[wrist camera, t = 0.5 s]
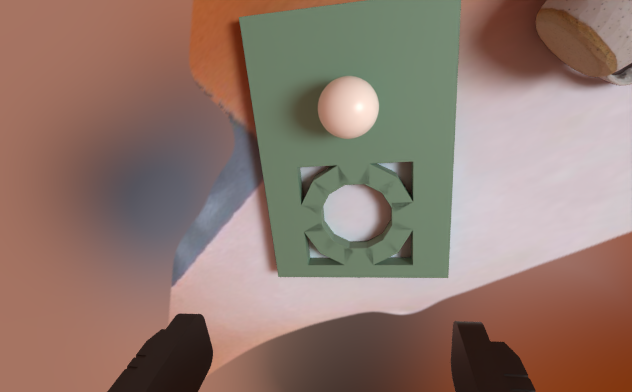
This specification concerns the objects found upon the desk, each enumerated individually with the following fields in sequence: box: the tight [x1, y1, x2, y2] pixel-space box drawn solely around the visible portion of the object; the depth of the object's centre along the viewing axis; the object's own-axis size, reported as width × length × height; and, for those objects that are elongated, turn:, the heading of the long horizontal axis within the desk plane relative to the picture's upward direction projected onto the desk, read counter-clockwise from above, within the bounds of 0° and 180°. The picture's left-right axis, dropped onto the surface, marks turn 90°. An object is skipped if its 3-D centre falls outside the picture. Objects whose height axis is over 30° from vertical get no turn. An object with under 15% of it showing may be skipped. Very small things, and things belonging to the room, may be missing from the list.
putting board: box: [239, 0, 461, 278], centre depth 33 cm, size 26×18×2 cm
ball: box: [318, 76, 379, 139], centre depth 28 cm, size 5×5×5 cm
